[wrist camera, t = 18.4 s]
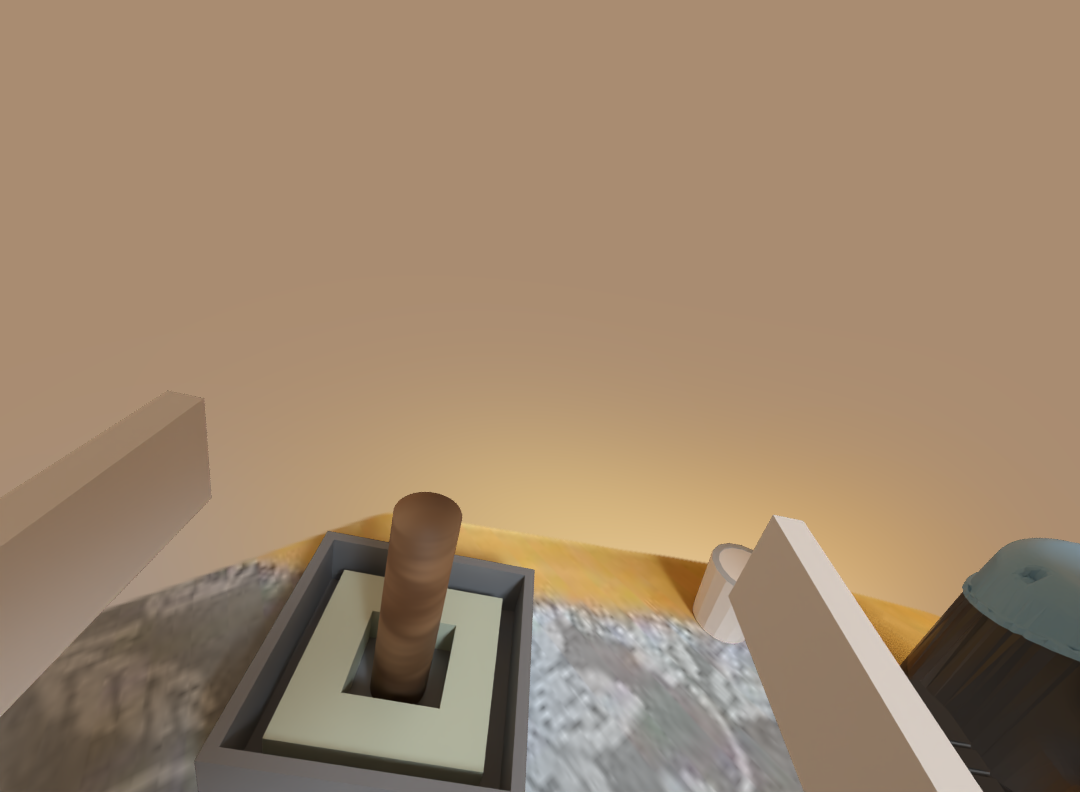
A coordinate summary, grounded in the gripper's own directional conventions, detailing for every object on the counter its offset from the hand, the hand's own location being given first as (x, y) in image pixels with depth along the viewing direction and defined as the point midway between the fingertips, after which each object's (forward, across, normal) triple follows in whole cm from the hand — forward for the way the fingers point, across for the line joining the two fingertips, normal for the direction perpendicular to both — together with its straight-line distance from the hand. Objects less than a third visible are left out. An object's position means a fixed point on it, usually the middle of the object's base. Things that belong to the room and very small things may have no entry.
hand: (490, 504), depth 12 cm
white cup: (+27, +26, -30) cm, 48 cm away
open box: (+14, -3, -30) cm, 33 cm away
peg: (+14, -3, -29) cm, 32 cm away
